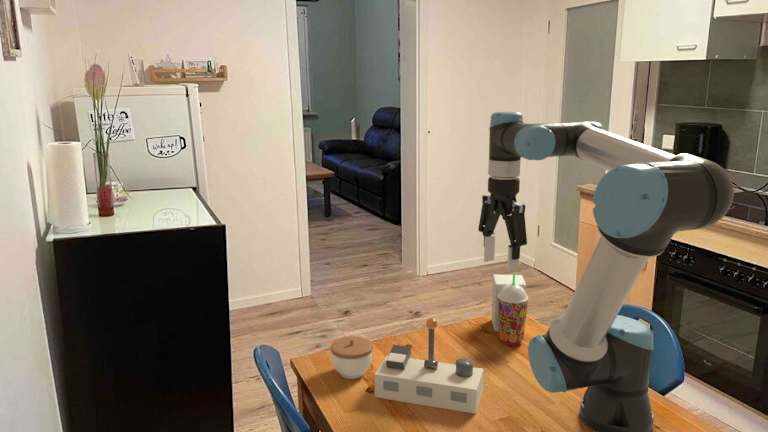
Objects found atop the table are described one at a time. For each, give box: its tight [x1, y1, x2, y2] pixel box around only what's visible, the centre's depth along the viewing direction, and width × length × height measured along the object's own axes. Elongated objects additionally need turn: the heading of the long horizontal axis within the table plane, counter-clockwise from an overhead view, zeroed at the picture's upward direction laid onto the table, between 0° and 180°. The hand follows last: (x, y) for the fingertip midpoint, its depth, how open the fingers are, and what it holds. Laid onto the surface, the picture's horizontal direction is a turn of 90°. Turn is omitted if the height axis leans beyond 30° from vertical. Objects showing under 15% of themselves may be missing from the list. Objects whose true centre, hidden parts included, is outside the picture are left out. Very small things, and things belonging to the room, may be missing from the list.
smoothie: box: [498, 274, 529, 347], centre depth 165 cm, size 8×8×20 cm
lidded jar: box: [330, 335, 374, 380], centre depth 150 cm, size 11×11×9 cm
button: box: [455, 357, 474, 377], centre depth 138 cm, size 4×4×3 cm
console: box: [374, 354, 484, 415], centre depth 140 cm, size 24×10×6 cm, turn 72°
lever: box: [424, 317, 439, 369], centre depth 139 cm, size 3×3×13 cm
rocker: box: [386, 344, 412, 370], centre depth 143 cm, size 4×6×2 cm
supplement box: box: [491, 273, 527, 332], centre depth 176 cm, size 9×9×15 cm
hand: (500, 265), depth 148 cm, fingers open, 9 cm apart
